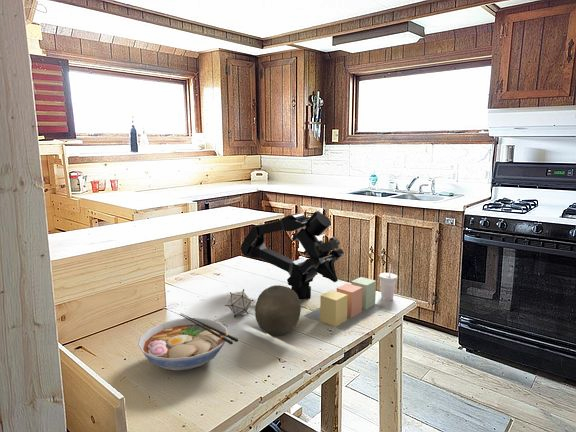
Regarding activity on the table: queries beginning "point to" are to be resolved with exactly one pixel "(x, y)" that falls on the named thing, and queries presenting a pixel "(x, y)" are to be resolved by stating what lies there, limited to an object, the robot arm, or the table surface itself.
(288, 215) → the robot arm
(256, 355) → the table surface
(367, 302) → the sage block
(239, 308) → the grey spiked polyhedron
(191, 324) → the ramen bowl
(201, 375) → the table surface
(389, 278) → the smoothie
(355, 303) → the terracotta block
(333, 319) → the mustard block
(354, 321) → the grey mat
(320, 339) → the table surface
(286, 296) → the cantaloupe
